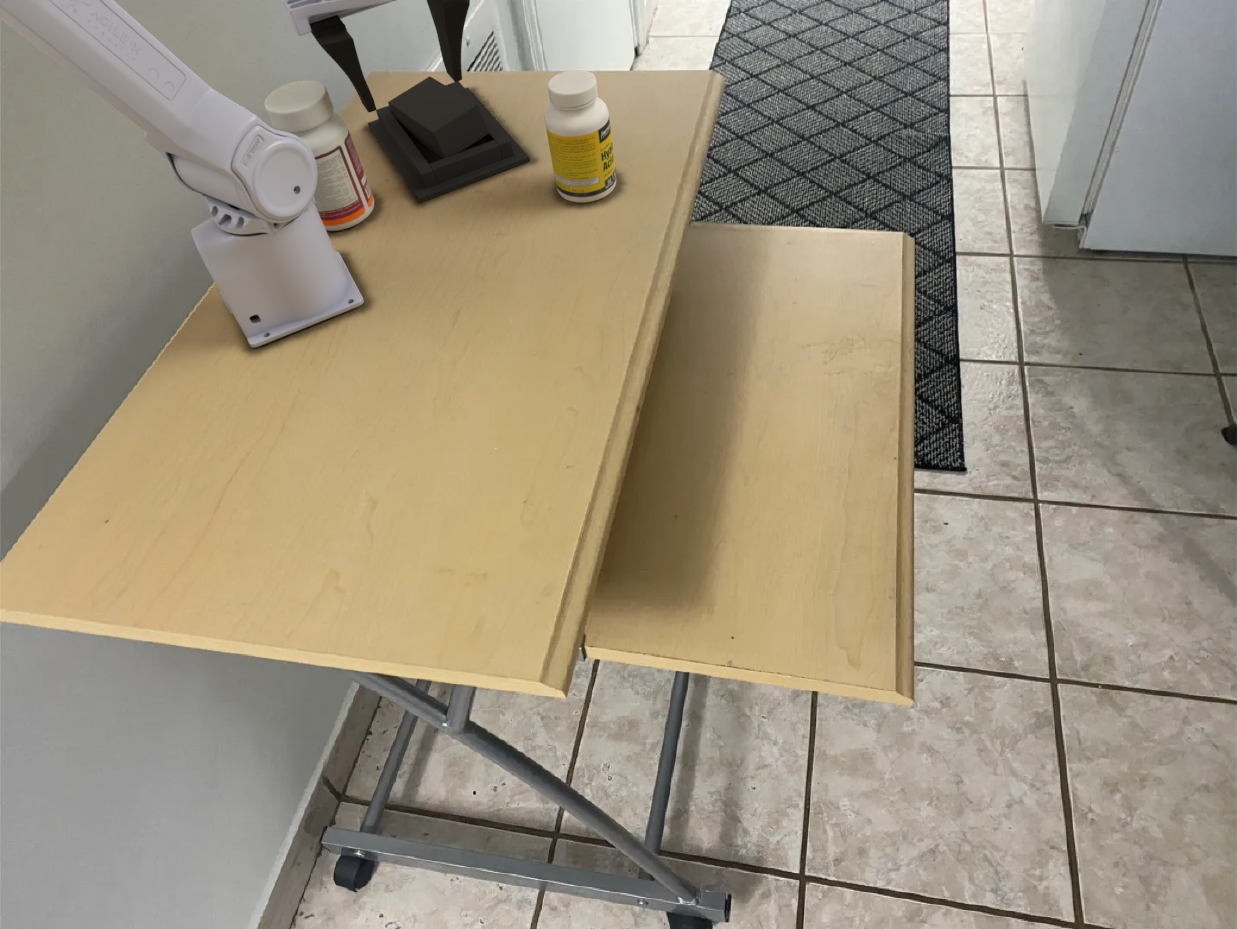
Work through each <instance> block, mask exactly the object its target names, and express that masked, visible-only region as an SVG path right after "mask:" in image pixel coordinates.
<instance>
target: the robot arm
mask: <svg viewBox="0 0 1237 929" xmlns="http://www.w3.org/2000/svg"><path fill="white" fill-rule="evenodd" d="M396 1H397V0H284V1H283V5H284V8H285V11H286V13H287V15H288V16H287V17H288V18H289V21H290V24H291V26H292V28H293V30H294V31H295V33H296V34H297V36H299V37H302V36H304V35H307V34H310V33H311V35H312V37H313V38H314V39H315V40H316V42H317V43H318V45H319V47H321V48H322V49H323V51H324V52H325V53H326V54H327V55H328V56H329V57H330V58H331V59H332V60H333V61H334V62H335V64H337V65H338V67H339V68H340V69H341V70H342V72H343V73H344V74H345V75H346V76H347V78H348V79H349V81H350V82H351V85H352V86H353V88H354V89H355V91H356V93H357V95H358V97H359V99H360V102H361V105H362V106H363V107H364V108H365V110H366V112H367V113H373V112H376V110H377V109H378V108H377V106H376V103H375V100H374V97H373V95H372V93H371V90H370V87H369V85H368V82H367V80H366V78H365V76H364V73H363V70H362V67H361V66H362V65H361V63H360V59H359V56H358V53H357V48H356V45H355V40H354V38H353V37H352V35H351V34H350V32H349V31H348V30H347V26H346V24H345V23H344V22H343V20H342V19H343V18H347V17H349V16H353V15H356V14H360V13H362V12H365V11H368V10H371V9H374V8H377V7H380V6H383V5H386V4H389V3H392V2H396ZM426 3H427V6H428V9H429V12H430V15H431V18H432V22H433V25H434V27H435V32H436V36H437V39H438V40H437V41H438V44H439V49H440V54H441V58H442V61H443V65H444V68H445V71H446V74H448V76H449V77H450V78H451V79H452V81H453V82H457V81H459V82H460V81H462V80H463V73H462V71H463V70H462V49H463V48H462V47H463V46H462V45H463V37H464V29H465V23H466V19H467V15H468V12H469V8H470V5H471V0H426ZM0 21H1V22H3V23H5V24H6V25H7V26H8V27H9V28H11V29H12V30H14V31H15V32H16V33H17V34H18V35H20V36H21V37H22V38H24V39H25V40H26V41H28V42H29V43H30V44H32V46H34V47H35V48H37V49H38V50H39V51H40V52H41V53H43V54H45V55H46V56H47V57H48V58H50V59H51V60H52V61H53V62H55V63H56V64H58V65H59V66H60V67H61V68H62V69H64V70H65V71H67V72H68V73H69V74H70V75H72V76H73V77H74V78H75V79H77V80H78V81H79V82H80V83H82V84H83V85H85V86H86V87H87V88H88V89H90V90H91V91H93V93H94V94H96V95H98V96H99V97H100V98H102V99H103V100H104V101H106V102H107V103H108V104H110V105H111V107H113V108H115V109H116V110H117V111H118V112H120V113H121V114H122V115H123V116H125V117H126V118H127V119H128V120H130V121H131V122H133V123H134V124H135V125H136V126H138V127H139V128H141V129H142V130H143V131H144V134H143V137H144V138H143V139H144V141H145V142H146V143H148V145H150V146H152V147H153V148H154V149H155V150H156V151H157V152H158V153H160V155H161V156H162V158H163V159H164V160H165V162H166V165H167V166H168V168H169V170H170V172H171V175H173V177H174V178H175V180H177V182H178V183H179V184H180V185H182V186H183V187H184V188H185V189H188V190H190V191H191V192H195V193H198V194H200V195H201V196H202V198H203V200H204V201H205V203H206V205H207V207H208V209H209V213H210V215H211V216H210V217H209V218H208V219H207V220H205V221H203V222H201V223H200V224H198V225H196V226H194V227H193V228H191V229H190V234H191V236H192V239H193V241H194V244H195V246H196V248H197V251H198V253H199V255H200V257H201V259H202V261H203V263H204V265H205V267H206V269H207V271H208V273H209V275H210V276H211V278H212V281H213V282H214V284H215V286H216V287H217V290H218V291H219V293H220V296H221V299H222V301H223V302H224V304H225V306H226V309H227V310H228V311H229V313H230V314H232V315H233V317H234V318H235V320H236V322H237V323H238V325H239V328H240V329H241V330H242V332H243V334H244V336H245V338H246V339H247V343H248V345H249V346H250V347H251V348H258V347H261V346H263V345H266V344H269V343H272V342H274V341H276V340H279V339H282V338H284V337H286V336H288V335H290V334H293V333H296V332H299V331H301V330H303V329H306V328H308V327H311V326H313V325H316V324H318V323H320V322H323V321H326V320H328V319H330V318H333V317H336V316H338V315H340V314H343V313H345V312H348V311H351V310H353V309H356V308H358V307H360V306H362V305H363V304H364V302H365V300H364V298H363V296H362V293H361V292H360V289H359V288H358V285H357V284H356V282H355V279H354V278H353V276H352V274H351V272H350V271H349V269H348V266H347V265H346V263H345V261H344V259H343V258H342V256H341V253H340V252H339V251H338V250H337V251H336V250H335V247H334V245H333V243H332V241H331V238H330V235H329V233H328V230H326V229H325V227H324V224H323V222H322V220H321V218H320V215H319V213H318V211H317V208H316V206H315V204H314V203H315V199H314V197H313V196H314V194H315V191H316V186H317V178H318V173H317V165H316V161H315V158H314V155H313V153H312V151H311V149H310V148H309V147H308V145H307V144H306V143H305V142H304V141H303V140H302V139H301V138H299V137H298V136H296V135H294V134H292V133H289V132H284V131H280V130H276V128H273V127H271V126H269V125H268V124H266V123H265V122H264V121H263V120H262V119H261V118H260V117H259V116H258V115H257V114H255V113H253V112H251V111H250V110H249V109H247V108H246V107H243V106H242V105H241V104H238V103H237V102H235V101H233V100H232V99H230V98H229V97H227V96H225V95H223V94H222V93H220V92H219V91H217V90H215V89H214V88H212V87H211V86H210V85H209V84H208V83H207V82H205V81H204V80H203V79H202V78H201V77H200V76H198V74H197V73H195V71H193V70H192V69H191V68H189V66H187V64H185V63H184V62H183V61H182V60H181V59H179V58H178V57H177V56H176V55H175V54H174V53H173V52H172V51H170V50H169V49H168V48H167V47H166V46H165V45H164V44H163V43H162V42H161V41H159V40H158V39H157V38H156V37H155V36H154V35H153V34H152V33H150V32H149V31H148V30H147V29H146V28H145V27H144V26H143V25H142V24H141V23H140V22H138V21H137V20H136V19H135V18H134V17H133V16H132V15H130V14H129V13H128V12H127V11H126V9H124V8H123V7H122V6H120V5H119V4H118V2H116V1H115V0H0Z"/></svg>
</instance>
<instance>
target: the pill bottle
mask: <svg viewBox="0 0 1237 929" xmlns="http://www.w3.org/2000/svg"><path fill="white" fill-rule="evenodd" d="M264 108H265V110H266V113H267V115H268V117H269V119H270V122H271V124H272V126H273V127H274V128H273V129H275V130H280V131H284V132H289V133H292V134H294V135H296V136H298V137H299V138H301V139H302V140H303V141H304V142H305V143H306V144H307V145H308V147H309V148H310V149H311V151H312V153H313V155H314V158H315V161H316V165H317V173H318V178H317V186H316V191H315V194H314V196H313V197H314V199H315V203H314V204H315V206H316V208H317V211H318V213H319V215H320V218H321V220H322V222H323V224H324V227H325V229H326V231H327V232H328V231H329V232H336V231H343V230H347V229H350V228H352V227H354V226H357V225H359V224H360V223H361V222H363V221H365V220H366V219H367V218H368V217H369V216H370V215H371V213H372V212H373V210H374V207H375V198H374V195H373V192H372V188H371V187H370V183H369V181H368V179H367V175H366V173H365V170H364V168H363V164H362V162H361V160H360V157H359V155H358V152H357V149H356V146H355V143H354V141H353V138H352V136H351V133H350V128H349V127H348V126H347V123H346V121H345V119H344V118H343V117H342V116H341V115H340V114H339V113H337V112H336V111H334V110H335V109H334V104H333V101H332V100H331V98H330V95H329V92H328V89H327V87H326V86H325V85H324V84H323V83H322V82H319V81H316V80H310V79H309V80H297V81H293V82H289V83H285V84H284V85H281V86H279V87H277V88H275V89H274V90H273V91H271V92H270V93H269V94H267V97H266V98H265V100H264Z"/></svg>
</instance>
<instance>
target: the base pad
mask: <svg viewBox="0 0 1237 929" xmlns="http://www.w3.org/2000/svg"><path fill="white" fill-rule="evenodd" d="M444 85H445V86H447V87H449V88H451V89H452V90H454V91H456V92H457V93H459V94H461V95H462V96H464V97H466V98H468V99H469V100H471V101H473V102H474V103H476V104H478V106H479V109H480V111H481V113H482V116H483V118H484V121H485V123H486V125H487V128H488V130H489V132H490V133H489V134H488V135H486V136H484V137H483V138H481V139H480V140H478V141H477V142H475V143H474V144H472V145H471V146H469V147H467V148H466V149H464V150H463V151H461V152H460V153H457V154H455V155H452V156H449V157H447V158H444V159H443V158H441V157H440V156H439V155H437V154H436V153H434V152H433V151H431V150H430V149H429V148H427V147H426V146H424V145H423V144H422V143H420V142H419V141H417V140H416V139H414V138H413V137H412V136H410V135H409V134H407V133H406V132H405V130H404V129H403V128H402V126H401V125H400V124H399V122H398V121H397V119H396V118H395V116H394V114H393V112H392V110H391V108H390V106H389V104H388V105H387V106H383V107H380V108H376V109H377V110H375V113H376V115H377V119H375V120H372V121H369V122H367V126H368V128H369V129H370V131H371V132H372V134H373V135H374V137H375V138H376V140H377V141H378V143H379V145H380V146H381V148H383V150H384V152H385V153H386V155H387V156H388V158H389V159H390V161H391V162H392V163H393V165H394V166H395V168H396V170H397V171H398V173H399V174H400V176H401V177H402V178H403V181H404V182H405V183H406V184H407V186H408V188H409V189H410V190H411V192H412V194H413V195H414V196H415V198H416V199H417V201H418V202H419V203H421V204H422V203H424V202H426V201H429V200H433V199H434V198H437V197H440V196H442V195H445V194H448V193H450V192H453V191H456V190H458V189H461V188H464V187H466V186H468V185H469V186H470V185H472V184H473V183H476V182H479V181H481V180H484V179H487V178H489V177H492V176H495V175H497V174H500V173H503V172H505V171H507V170H510V169H513V168H515V167H518V166H520V165H524V164H526V163H529V162H530V161H531V160H530V156H529V155H528V153H526V151H524V149H523V148H522V147H521V146H520V145H519V144H518V143H517V141H516V140H515V139H514V138H513V137H512V136H511V134H510V133H509V132H508V131H507V130H506V129H505V128H504V127H503V125H502V124H501V123H500V121H498V119H497V118H495V116H494V115H493V114H492V113H491V112H490V110H488V108H487V107H486V106H485V105H484V104H483V103H482V101H480V99H479V98H478V97H477V96H476V95H475V94H474V92H473V91H472V90H471V89H470V88H469V87H468V86H467V87H464V86H463V85H462V83H461V82H460V81H457V82H455V81H453V82H451V83H448V84H444Z"/></svg>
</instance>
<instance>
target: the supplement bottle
mask: <svg viewBox="0 0 1237 929" xmlns="http://www.w3.org/2000/svg"><path fill="white" fill-rule="evenodd" d="M547 93H548V98H549V102H550V104H549V106H548V107H547V109H546V111H545V114H544V124H545V130H546V136H547V141H548V147H549V152H550V158H551V163H552V170H553V171H552V172H553V176H554V182H555V186H556V191H557V192H558V194H559V195H560V196H561V197H562V198H563V199H564V200H566V201H569V202H573V203H580V204H581V203H591V202H595V201H598V200H601V199H603V198H605V197H607V196H608V195H609V194H611V193H612V192H613V190H614V189H615V187H616V185H617V170H616V162H615V154H614V146H613V136H612V128H611V127H612V126H611V120H610V112H609V109H608V108H609V107H608V106H607V104H606V103H605V101H603V100H602V98H600V97H599V94H598V93H599V90H598V82H597V78H596V76H595V75H594V74H593V73H592V72H590V71H588V70H583V69H569V70H566V71H561V72H559V73H557V74H556V75H553V76H552V77H551V78H550V79H549V81H548V82H547Z"/></svg>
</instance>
